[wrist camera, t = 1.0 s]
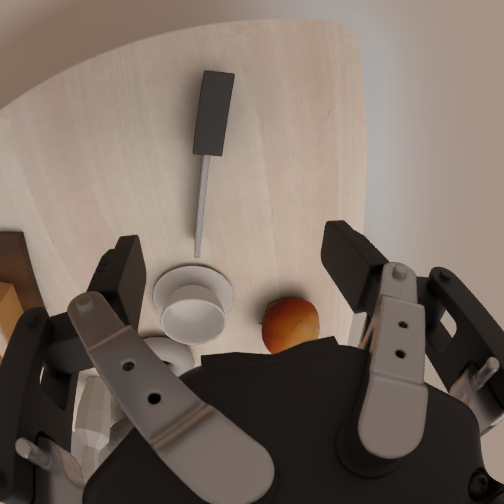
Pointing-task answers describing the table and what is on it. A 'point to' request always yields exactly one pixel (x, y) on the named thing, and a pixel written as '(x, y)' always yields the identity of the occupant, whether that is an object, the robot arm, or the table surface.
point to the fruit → (289, 324)
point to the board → (18, 269)
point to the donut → (172, 354)
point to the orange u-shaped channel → (8, 314)
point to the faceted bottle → (93, 423)
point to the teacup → (193, 304)
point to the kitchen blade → (210, 132)
